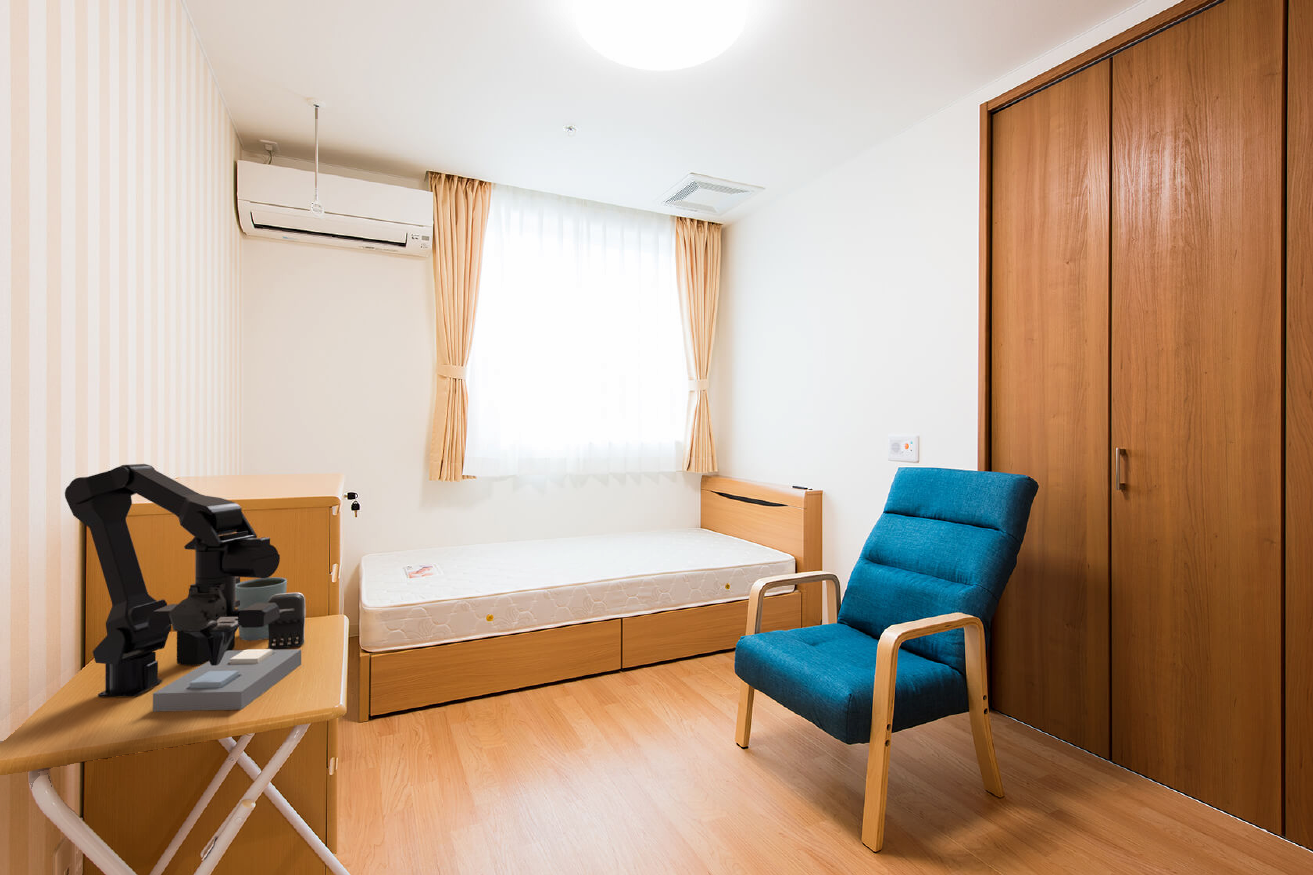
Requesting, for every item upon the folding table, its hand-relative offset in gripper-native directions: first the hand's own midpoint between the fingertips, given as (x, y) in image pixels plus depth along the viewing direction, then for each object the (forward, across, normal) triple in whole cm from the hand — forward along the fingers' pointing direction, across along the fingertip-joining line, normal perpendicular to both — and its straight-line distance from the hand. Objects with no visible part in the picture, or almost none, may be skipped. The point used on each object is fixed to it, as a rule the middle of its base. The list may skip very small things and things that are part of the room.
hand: (215, 664), depth 106 cm
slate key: (+4, 0, 0) cm, 4 cm away
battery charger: (+6, -1, +26) cm, 26 cm away
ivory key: (+4, 0, +11) cm, 12 cm away
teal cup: (+6, -11, +34) cm, 37 cm away
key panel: (+6, 0, +6) cm, 8 cm away
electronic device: (+6, -14, +20) cm, 26 cm away
